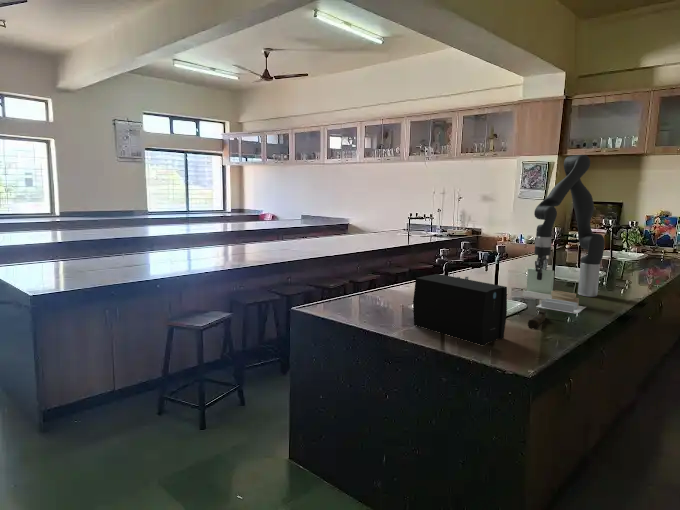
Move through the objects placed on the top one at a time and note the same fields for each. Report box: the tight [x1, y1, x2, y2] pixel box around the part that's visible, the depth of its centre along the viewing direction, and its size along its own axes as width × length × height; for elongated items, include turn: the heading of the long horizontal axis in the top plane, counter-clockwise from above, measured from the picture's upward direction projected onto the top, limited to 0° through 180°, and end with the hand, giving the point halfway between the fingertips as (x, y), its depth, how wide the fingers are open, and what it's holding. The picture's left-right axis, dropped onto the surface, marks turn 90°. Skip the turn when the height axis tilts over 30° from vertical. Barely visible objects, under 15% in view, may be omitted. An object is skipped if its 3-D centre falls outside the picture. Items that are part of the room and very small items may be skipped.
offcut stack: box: [551, 289, 580, 306], centre depth 224 cm, size 4×12×6 cm, turn 49°
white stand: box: [522, 290, 552, 301], centre depth 239 cm, size 7×14×4 cm, turn 49°
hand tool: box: [527, 309, 547, 330], centre depth 197 cm, size 19×4×5 cm, turn 141°
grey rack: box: [535, 298, 587, 315], centre depth 221 cm, size 16×18×4 cm
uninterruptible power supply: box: [412, 273, 508, 346], centre depth 184 cm, size 16×34×20 cm, turn 41°
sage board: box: [525, 267, 555, 295], centre depth 238 cm, size 3×12×14 cm, turn 49°
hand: (540, 279), depth 238 cm, fingers closed on sage board, 3 cm apart
